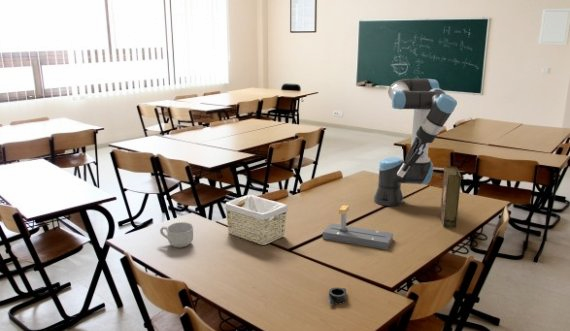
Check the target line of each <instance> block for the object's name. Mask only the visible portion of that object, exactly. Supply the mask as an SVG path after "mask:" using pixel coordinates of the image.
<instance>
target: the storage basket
mask: <svg viewBox="0 0 570 331" xmlns="http://www.w3.org/2000/svg"><path fill="white" fill-rule="evenodd" d="M242 204H243V206H239V205H242ZM224 209H225V211H226V221H227V229H228V231H227V232H228V233H229V235H230V234H231V235H233V236H236V237H238V238H240V237H241V239H243V240H247V241H249V242H253V243H255V244H258V245H261V246H265V245H267V244H270V243H273V242H274V241H277V240H278V239H279V240H280V239H281V238H283V237H284V236H285V234H286V233H285V232H286V223H287V222H286V220H287V212H288V211H289V209H288V205H287V204H286V203H285V204H284V203H282V202H278V201H275V200H271V199H270V200H269V199H267V198H263V197H260V196H256V195H252V194H247V195H244V196H241V197H238V198H235V199H231V200H229V201H226V202H225V206H224Z"/></svg>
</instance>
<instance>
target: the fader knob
mask: <svg viewBox="0 0 570 331" xmlns="http://www.w3.org/2000/svg"><path fill="white" fill-rule="evenodd" d="M349 210H350V206H349V205H345V204H343V205H342V206H341V207H340V208H339V210H338V214H339V215H340V216H341V217H340V218H341V219H340V225H341V227H340V228H339V230H342V231H346V230H347V229H348V227H346V226H347V213H348V212H349Z"/></svg>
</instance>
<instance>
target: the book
mask: <svg viewBox="0 0 570 331" xmlns="http://www.w3.org/2000/svg"><path fill="white" fill-rule="evenodd" d="M443 167H444V168H443V178H442V190H441V191H442V192H441V200H440V202H441V203H440V211H439V217H440V221H441V224H442V227H443V228H444V227H446V228H447V227H451V228H454V229H455V228H457V224H458V223H457V221H458V212H459V202H460V193H461V192H460V191H461V181H462V174H461V173H460V171H459V169H458V167H457V166H453V165H452V166H448V165H445V166H443Z"/></svg>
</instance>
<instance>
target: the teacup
mask: <svg viewBox="0 0 570 331" xmlns="http://www.w3.org/2000/svg"><path fill="white" fill-rule="evenodd" d="M164 230H165V231H166V233H167V234H166V233H164ZM159 233H160V234H161V236H162V237H164V238H165V239H166V240H167V241H168V243H169V244H170V245H171V246H172V247H174V248H178V249H179V248H186V247H189V245H190V244H191V243H192V242H193V240H194V225H193V224H192V223H190V222H186V221H185V222H183V221H182V222H179V221H178V222H174V223H172V224H170V225H168V226H162V227H161V228H160V230H159Z"/></svg>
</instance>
